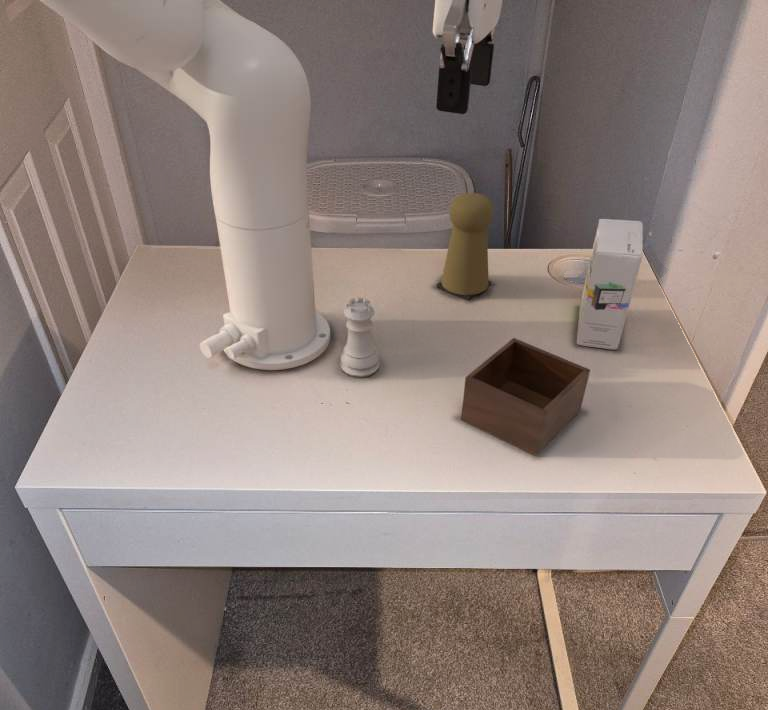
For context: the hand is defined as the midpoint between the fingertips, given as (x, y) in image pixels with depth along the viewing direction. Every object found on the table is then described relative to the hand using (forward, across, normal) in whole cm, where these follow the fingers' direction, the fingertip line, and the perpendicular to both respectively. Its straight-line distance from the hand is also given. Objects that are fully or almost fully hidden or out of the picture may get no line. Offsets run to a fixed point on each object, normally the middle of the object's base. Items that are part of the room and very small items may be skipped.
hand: (463, 97), depth 81 cm
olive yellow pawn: (+22, -1, +2) cm, 22 cm away
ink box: (+22, +3, +20) cm, 30 cm away
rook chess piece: (+23, +20, -4) cm, 31 cm away
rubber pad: (+22, -1, +2) cm, 23 cm away
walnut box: (+23, +22, +14) cm, 35 cm away
